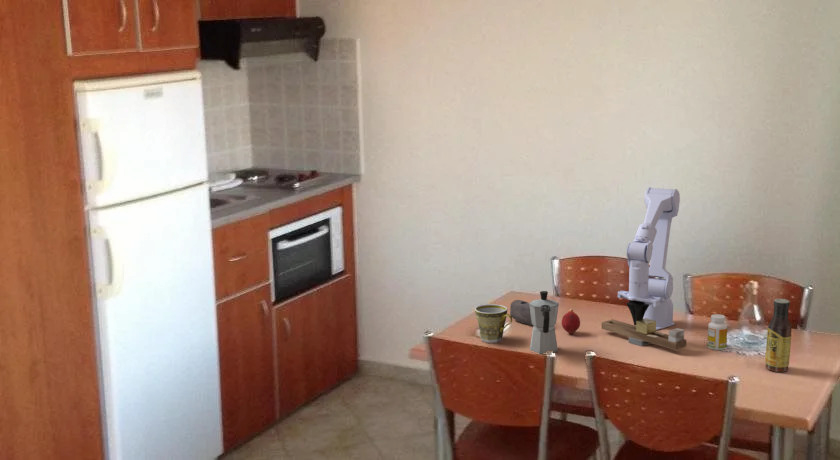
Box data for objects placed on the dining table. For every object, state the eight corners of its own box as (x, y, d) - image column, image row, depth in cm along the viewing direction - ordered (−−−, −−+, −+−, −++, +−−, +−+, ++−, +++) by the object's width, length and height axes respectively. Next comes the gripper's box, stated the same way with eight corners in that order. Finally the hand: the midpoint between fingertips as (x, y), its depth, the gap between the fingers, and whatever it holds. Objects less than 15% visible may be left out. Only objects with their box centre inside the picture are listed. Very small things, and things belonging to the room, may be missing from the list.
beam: (614, 329, 301) (614, 309, 300) (688, 350, 280) (688, 329, 278) (599, 333, 297) (599, 313, 296) (673, 355, 275) (674, 334, 274)
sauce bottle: (760, 366, 265) (764, 297, 261) (782, 364, 266) (786, 296, 262) (771, 374, 259) (775, 303, 255) (793, 373, 259) (797, 302, 255)
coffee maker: (527, 343, 290) (527, 286, 286) (556, 342, 289) (556, 285, 286) (531, 359, 275) (531, 299, 271) (561, 359, 275) (562, 299, 271)
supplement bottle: (726, 345, 283) (728, 314, 281) (726, 351, 278) (727, 319, 276) (707, 344, 285) (709, 312, 283) (707, 349, 280) (708, 317, 278)
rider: (645, 334, 290) (645, 318, 289) (655, 337, 287) (656, 320, 286) (635, 337, 287) (636, 321, 286) (646, 340, 284) (646, 323, 283)
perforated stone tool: (552, 328, 304) (552, 307, 303) (540, 331, 301) (540, 310, 300) (520, 317, 316) (520, 297, 315) (508, 320, 313) (508, 300, 312)
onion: (579, 337, 294) (580, 312, 293) (561, 336, 295) (561, 311, 294) (580, 331, 300) (580, 307, 298) (562, 330, 301) (562, 306, 299)
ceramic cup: (468, 340, 294) (468, 309, 292) (489, 332, 301) (488, 302, 299) (501, 348, 285) (501, 316, 283) (521, 340, 292) (521, 309, 290)
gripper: (611, 279, 289) (610, 322, 292) (649, 288, 278) (648, 332, 281) (626, 275, 293) (625, 317, 296) (664, 284, 282) (663, 327, 285)
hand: (637, 324), depth 289 cm, fingers closed
